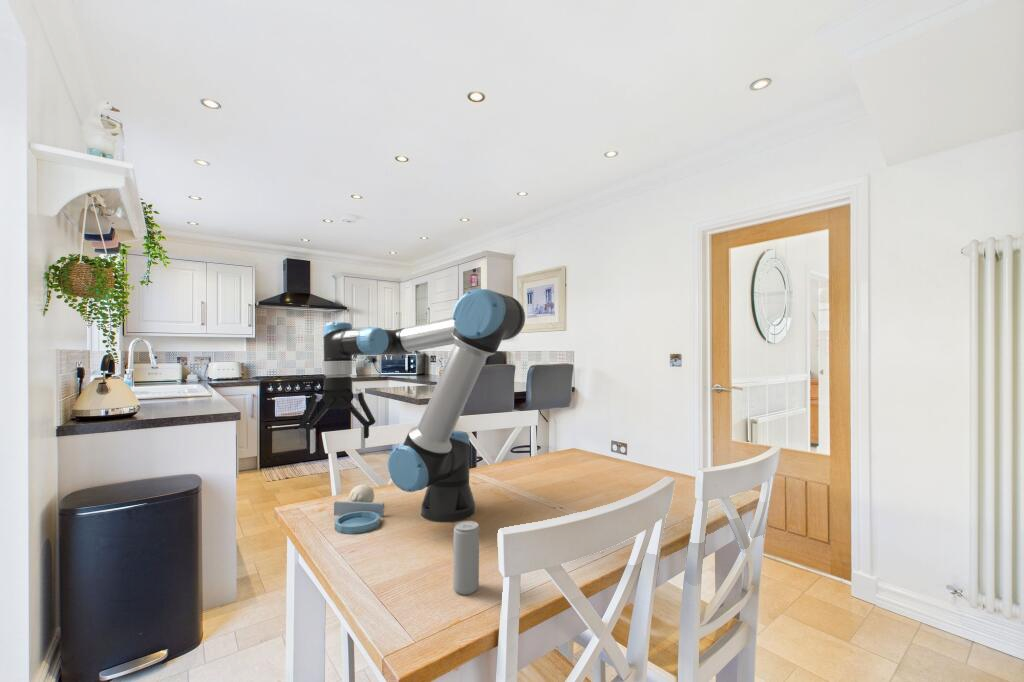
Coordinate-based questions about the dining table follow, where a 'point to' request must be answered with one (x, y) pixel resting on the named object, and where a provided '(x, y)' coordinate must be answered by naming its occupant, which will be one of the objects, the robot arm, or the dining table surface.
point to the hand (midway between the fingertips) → (338, 451)
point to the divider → (357, 507)
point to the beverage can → (466, 557)
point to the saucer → (357, 522)
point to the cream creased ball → (361, 494)
